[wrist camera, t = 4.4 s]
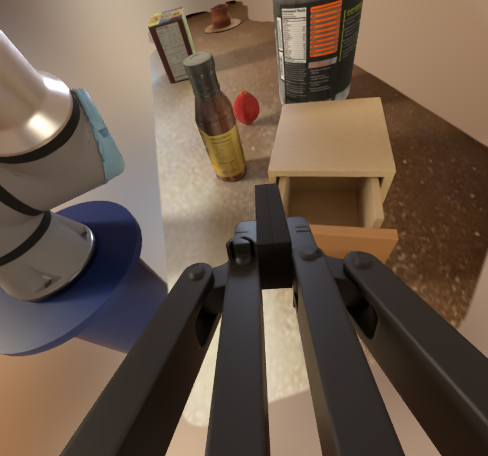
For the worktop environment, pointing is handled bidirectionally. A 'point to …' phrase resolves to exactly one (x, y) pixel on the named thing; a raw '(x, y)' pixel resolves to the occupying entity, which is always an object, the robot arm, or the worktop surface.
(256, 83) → the worktop surface
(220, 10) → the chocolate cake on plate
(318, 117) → the cabinet
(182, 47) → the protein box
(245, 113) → the onion
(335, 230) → the drawer
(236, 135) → the sauce bottle
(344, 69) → the supplement tub
